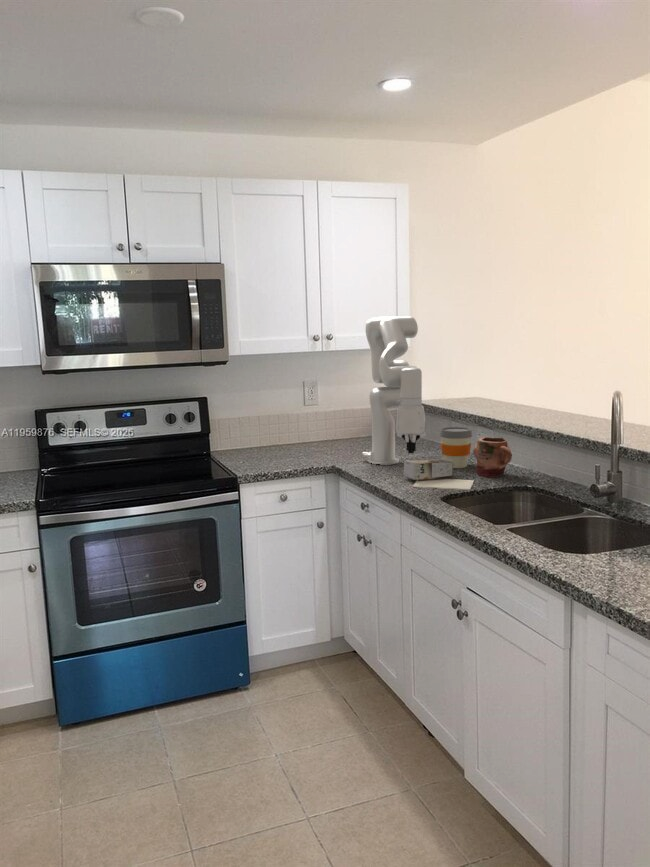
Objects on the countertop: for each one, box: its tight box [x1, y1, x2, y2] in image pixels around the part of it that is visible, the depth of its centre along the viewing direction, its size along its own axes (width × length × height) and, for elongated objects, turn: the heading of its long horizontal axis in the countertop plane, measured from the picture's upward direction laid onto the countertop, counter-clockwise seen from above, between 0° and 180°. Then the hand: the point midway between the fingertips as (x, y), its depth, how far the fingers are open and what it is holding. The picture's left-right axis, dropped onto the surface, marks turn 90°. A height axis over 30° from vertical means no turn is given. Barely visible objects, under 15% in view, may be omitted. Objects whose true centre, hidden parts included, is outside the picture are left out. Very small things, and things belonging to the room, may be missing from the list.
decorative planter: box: [472, 437, 513, 478], centre depth 268 cm, size 20×12×14 cm, turn 30°
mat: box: [412, 478, 475, 491], centre depth 255 cm, size 20×14×1 cm
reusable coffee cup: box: [439, 426, 473, 469], centre depth 286 cm, size 13×13×15 cm
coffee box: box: [403, 459, 454, 481], centre depth 264 cm, size 9×6×16 cm
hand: (411, 452), depth 257 cm, fingers closed
